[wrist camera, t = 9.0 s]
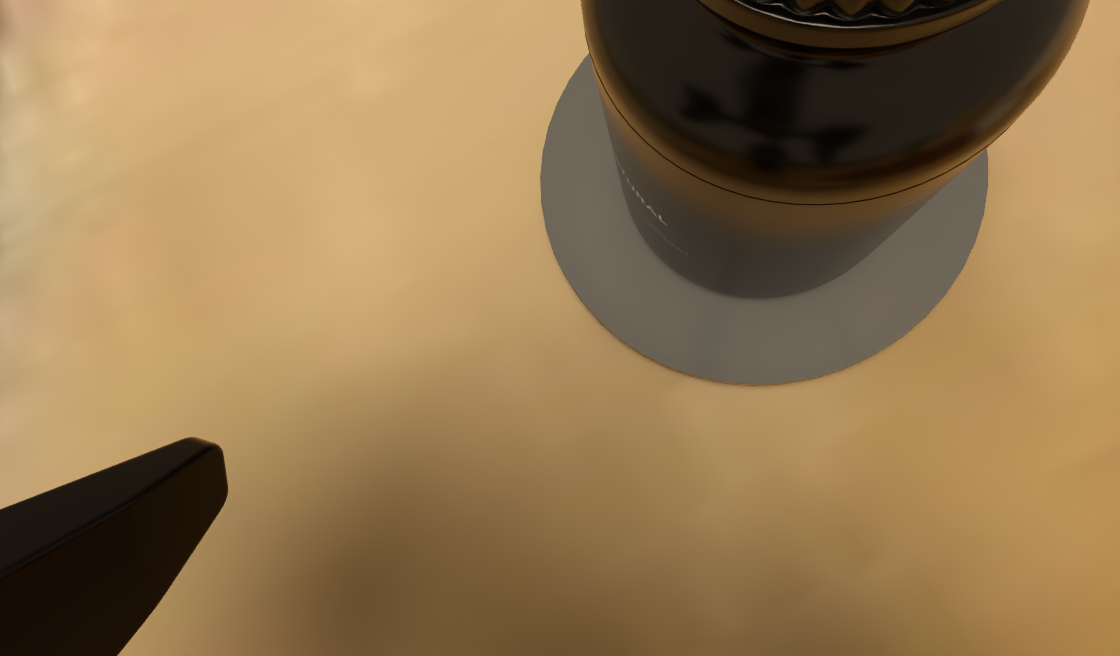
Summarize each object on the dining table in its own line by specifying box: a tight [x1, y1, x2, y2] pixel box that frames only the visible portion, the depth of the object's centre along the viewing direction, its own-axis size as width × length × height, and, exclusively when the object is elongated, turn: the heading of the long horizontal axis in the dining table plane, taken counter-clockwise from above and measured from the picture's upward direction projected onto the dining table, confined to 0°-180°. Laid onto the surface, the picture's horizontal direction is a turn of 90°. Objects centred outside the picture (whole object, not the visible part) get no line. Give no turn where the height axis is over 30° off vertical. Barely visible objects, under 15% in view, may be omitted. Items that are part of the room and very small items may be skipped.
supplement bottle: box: [581, 0, 1090, 299], centre depth 12 cm, size 7×7×12 cm
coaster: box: [540, 53, 988, 386], centre depth 18 cm, size 11×11×1 cm
